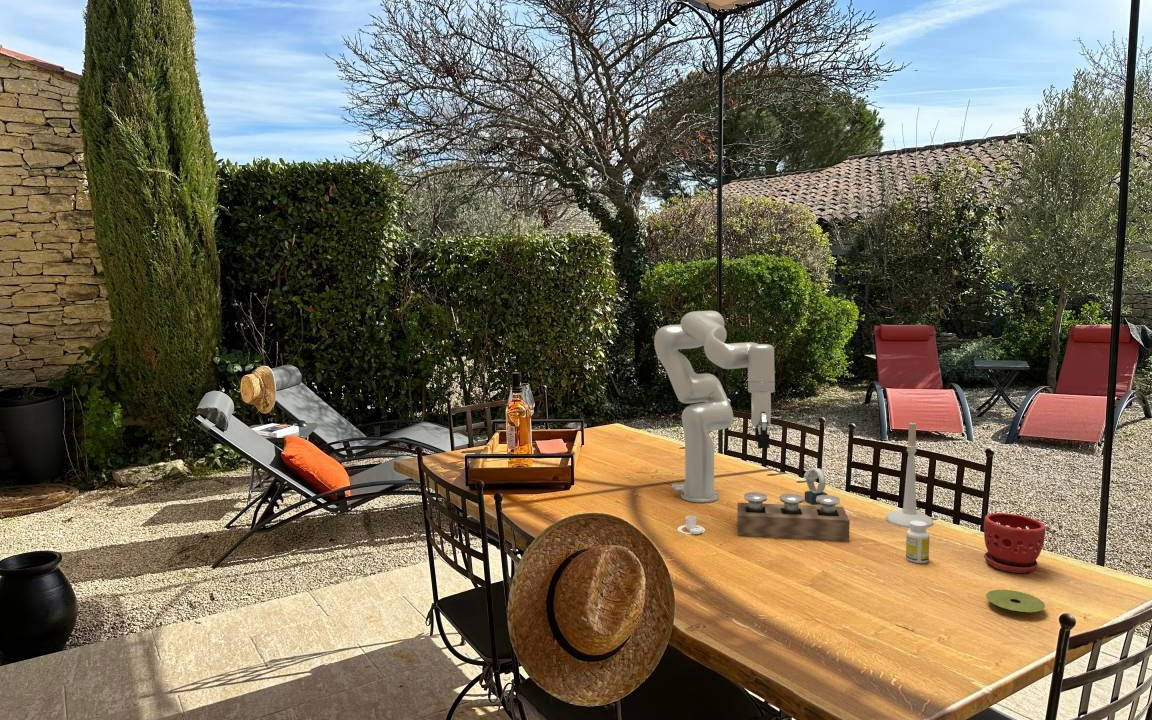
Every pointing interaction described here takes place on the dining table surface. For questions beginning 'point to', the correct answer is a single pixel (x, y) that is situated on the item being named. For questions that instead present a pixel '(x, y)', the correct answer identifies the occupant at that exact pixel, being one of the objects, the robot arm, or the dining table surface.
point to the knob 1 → (755, 501)
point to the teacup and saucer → (691, 526)
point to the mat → (1015, 600)
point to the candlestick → (909, 489)
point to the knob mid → (791, 503)
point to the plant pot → (1013, 542)
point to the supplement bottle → (917, 542)
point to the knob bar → (793, 523)
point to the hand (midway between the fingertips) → (762, 444)
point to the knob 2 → (827, 504)
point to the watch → (810, 479)
